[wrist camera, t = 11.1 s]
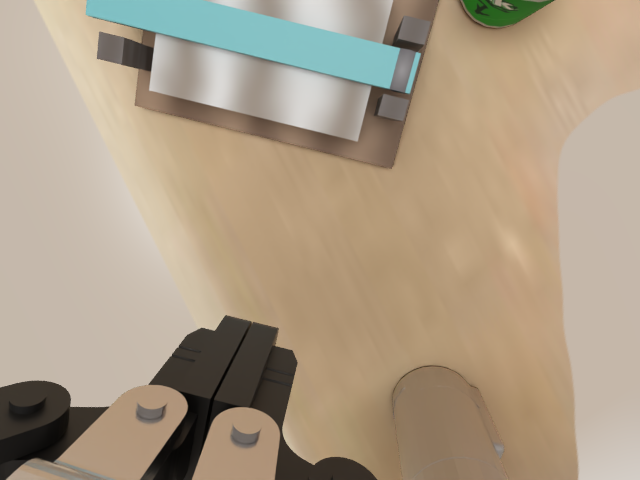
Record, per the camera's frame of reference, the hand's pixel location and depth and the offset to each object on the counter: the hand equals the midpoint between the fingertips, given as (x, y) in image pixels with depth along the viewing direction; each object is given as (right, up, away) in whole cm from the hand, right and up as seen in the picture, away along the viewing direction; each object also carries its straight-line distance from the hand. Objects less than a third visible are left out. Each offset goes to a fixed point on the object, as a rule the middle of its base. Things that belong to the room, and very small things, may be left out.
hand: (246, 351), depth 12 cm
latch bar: (-3, +19, +23) cm, 30 cm away
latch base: (-2, +21, +31) cm, 37 cm away
